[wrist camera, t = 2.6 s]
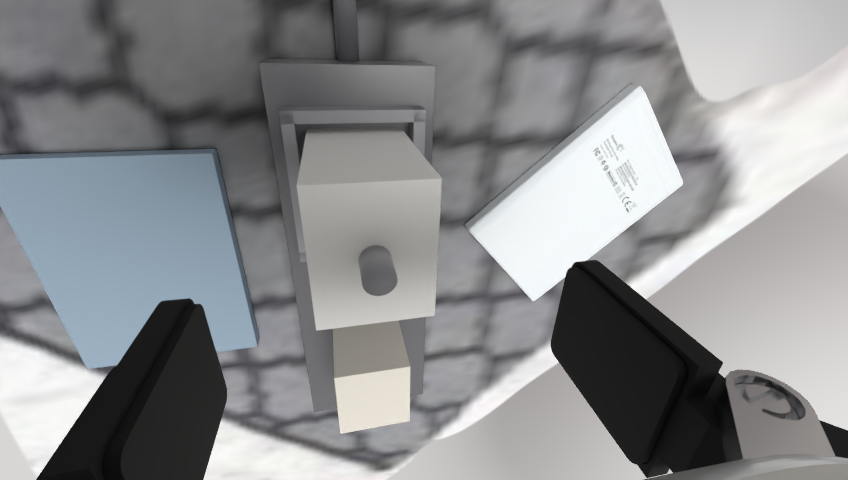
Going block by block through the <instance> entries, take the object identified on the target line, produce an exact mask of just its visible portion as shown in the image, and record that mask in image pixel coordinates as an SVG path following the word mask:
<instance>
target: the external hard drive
mask: <svg viewBox="0 0 848 480" xmlns="http://www.w3.org/2000/svg"><path fill="white" fill-rule="evenodd" d="M682 185H683V180H682V178H681V175H680V173H679V171H678V168H677V166H676V164H675V162H674V159H673V157H672V155H671V152H670V150H669V148H668V145H667V143H666V141H665V138H664V136H663V133H662V131H661V128H660V126H659V124H658V122H657V119H656V117H655V114H654V112H653V110H652V107H651V105H650V102H649V100H648V98H647V95H646V93H645V92H644V90H643V89H642V87H641V86H640V85H634V84H630V85H629V86H627V87H626V88H625V89H624V90H623V91H621V92H620V93H619V94H618V95H617V96H616V97H614V98H613V99H612V100H611V101H610V102H608V103H607V104H606V105H605V106H604V107H602V108H601V109H600V110H599V111H598V112H597V113H595V114H594V115H593V116H592V117H591V118H589V119H588V120H587V121H586V122H585V123H583V124H582V125H581V126H580V127H579V128H578V129H576V130H575V131H574V132H573V133H572V134H570V135H569V136H568V137H567V138H566V139H565V140H563V141H562V142H561V143H560V144H559V145H557V146H556V147H555V148H554V149H553V150H552V151H550V152H549V153H548V154H547V155H546V156H544V157H543V158H542V159H541V160H540V161H539V162H537V163H536V164H535V165H534V166H533V167H532V168H530V169H529V170H528V171H527V172H526V173H524V174H523V175H522V176H521V177H520V178H519V179H517V180H516V181H515V182H514V183H513V184H511V185H510V186H509V187H508V188H507V189H506V190H504V191H503V192H502V193H501V194H500V195H499V196H497V197H496V198H495V199H494V200H493V201H491V202H490V203H489V204H488V205H487V206H486V207H484V208H483V209H482V210H481V211H480V212H479V213H477V214H476V215H475V216H474V217H473V218H472V219H470V220H469V221H468V222H467V223H466V224H465V226H466V228H467V229H468V231H469V232H470V233H471V234H472V235H473V236H474V237H475V238H476V239H477V241H478V242H479V243H480V244H481V245H482V246H483V247H484V248H485V249H486V250H487V251H488V253H489V254H490V255H491V256H492V257H493V258H494V259H495V260H496V261H497V262H498V264H499V265H500V266H501V267H502V268H503V269H504V270H505V271H506V272H507V273H508V275H509V276H510V277H511V278H512V279H513V280H514V281H515V282H516V283H517V284H518V286H519V287H520V288H521V289H522V290H523V291H524V292H525V293H526V294H527V295H528V297H529V298H530V299H531V300H532V301H535V300H536V299H538V298H539V297H540V296H541V295H543V294H544V293H545V292H547V291H548V290H549V289H551V288H552V287H553V286H554V285H556V284H557V283H558V282H559V281H561V280H562V279H563V278H564V277H566V273H567V270H568V269H569V268H571V267H572V265H573V264H574V263H575V262H580V261H586V260H587V259H589V258H590V257H591V256H592V255H594V254H595V253H596V252H598V251H599V250H600V249H601V248H603V247H604V246H605V245H606V244H608V243H609V242H610V241H612V240H613V239H614V238H615V237H617V236H618V235H619V234H620V233H622V232H623V231H624V230H626V229H627V228H628V227H629V226H631V225H632V224H633V223H635V222H636V221H637V220H638V219H640V218H641V217H642V216H643V215H645V214H646V213H647V212H649V211H650V210H651V209H652V208H653V207H655V206H656V205H657V204H659V203H660V202H661V201H662V200H664V199H665V198H666V197H667V196H669V195H670V194H672V193H673V192H674V191H675V190H677V189H678V188H679V187H680V186H682Z"/></svg>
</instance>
